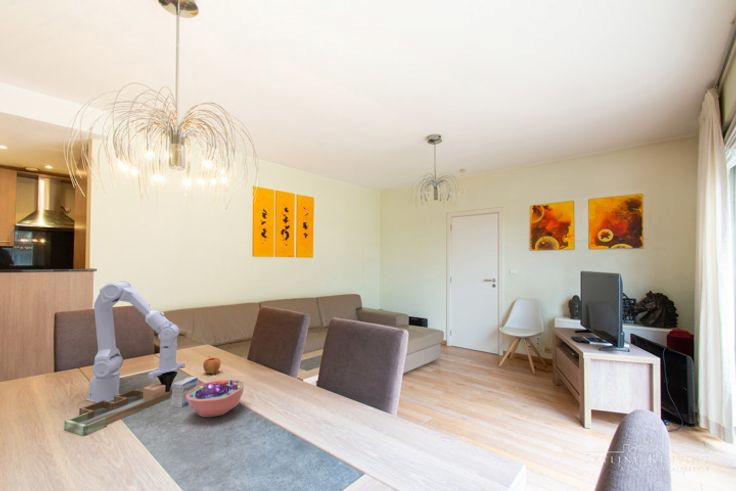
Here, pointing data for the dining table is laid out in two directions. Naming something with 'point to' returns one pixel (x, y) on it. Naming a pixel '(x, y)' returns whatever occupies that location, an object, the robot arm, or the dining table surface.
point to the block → (153, 391)
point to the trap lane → (110, 411)
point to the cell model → (215, 397)
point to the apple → (211, 365)
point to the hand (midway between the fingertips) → (166, 391)
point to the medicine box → (182, 391)
